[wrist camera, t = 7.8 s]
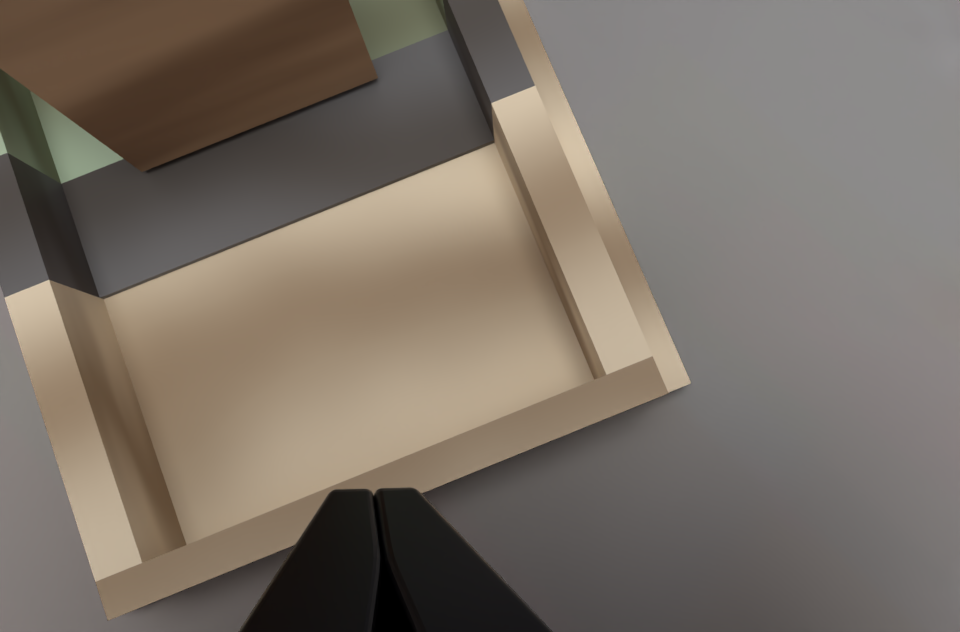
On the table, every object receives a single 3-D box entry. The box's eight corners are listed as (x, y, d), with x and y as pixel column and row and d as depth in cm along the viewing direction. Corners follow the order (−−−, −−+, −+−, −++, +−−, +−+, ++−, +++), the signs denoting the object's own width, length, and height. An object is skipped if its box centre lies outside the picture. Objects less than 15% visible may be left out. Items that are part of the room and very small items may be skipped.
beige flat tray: (683, 386, 21) (715, 374, 18) (135, 608, 21) (60, 639, 18) (371, -327, 25) (347, -453, 21) (-108, -139, 24) (-212, -236, 21)
